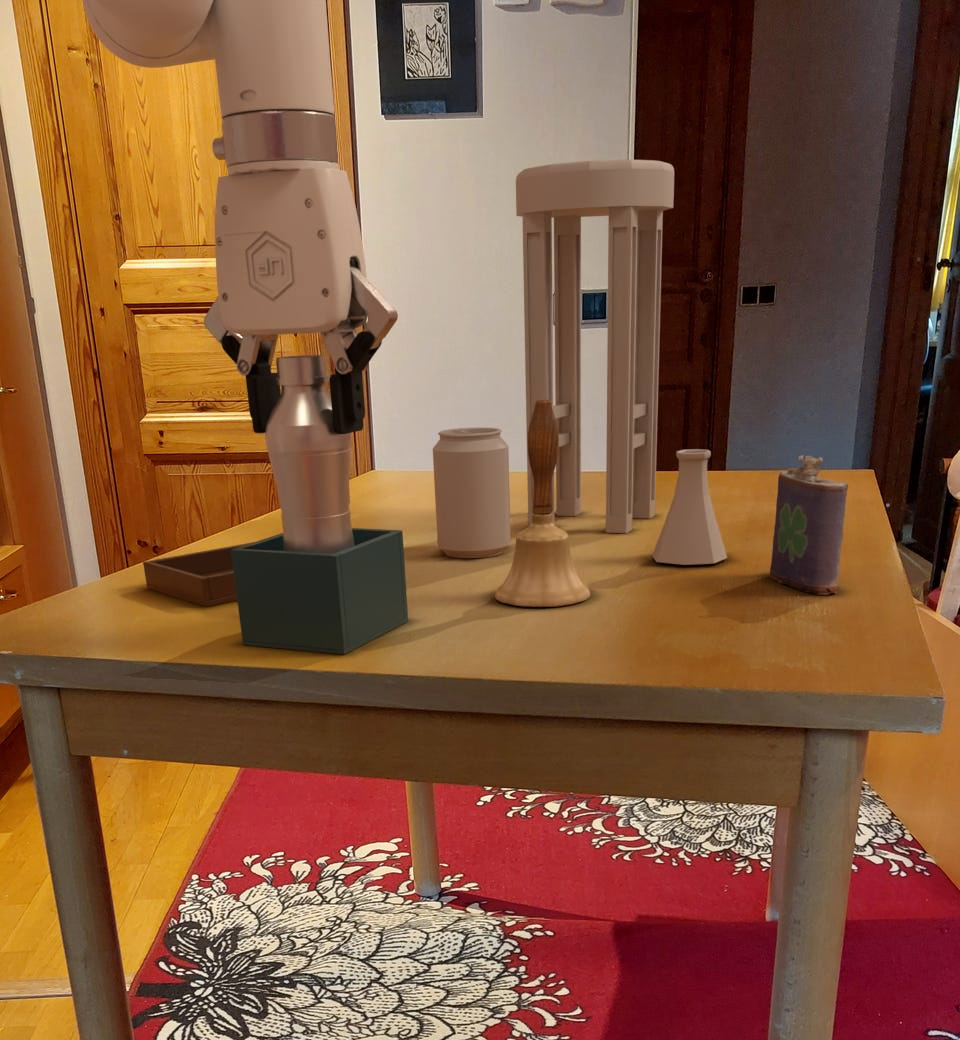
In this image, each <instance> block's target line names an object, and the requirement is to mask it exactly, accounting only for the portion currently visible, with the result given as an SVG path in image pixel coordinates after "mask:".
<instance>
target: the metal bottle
mask: <svg viewBox="0 0 960 1040" xmlns="http://www.w3.org/2000/svg"><path fill="white" fill-rule="evenodd" d="M275 364H276V373H277V375H278V378H276V379H277V385H280V391H281V396H280V397H279V399H278V401H277V403H276V405H275V406H274V408H273V410H272V412H271V415H270V417H269V419H268V422H267V425H266V431H265V433H264V440H265V446H266V450H267V452H268V453H267V454H268V459H269V463H270V466H271V471H272V473H273V474H272V475H273V480H274V482H275V487H276V492H277V498H278V499H277V500H278V505H279V509H280V510H281V514H280V518H281V524H282V533H283V540H284V551H288V552H306V553H323V554H335V553H337V552H340V551H343V550H345V549H348V548H351V547H353V546H355V544H354V538H353V532H352V528H353V526H352V516H351V514H352V513H351V512H352V511H351V508H350V504H351V491H350V490H351V488H350V480H351V479H350V476H351V455H352V448H351V445H352V433H347V434H337V433H336V432H335V431H334V428H333V416H332V405H331V394H329V392H328V390H327V386H326V384H327V383H330V382H329V379H330V375H329V374H328V367H327V366H328V365H327V358H326V355H324V354H310V355H291V356H290V355H289V356H279V357H276V361H275Z"/></svg>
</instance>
